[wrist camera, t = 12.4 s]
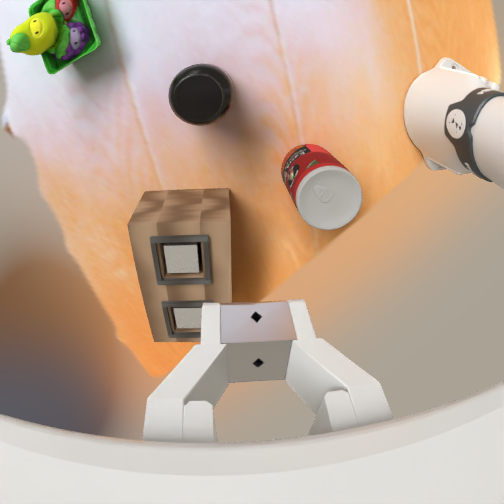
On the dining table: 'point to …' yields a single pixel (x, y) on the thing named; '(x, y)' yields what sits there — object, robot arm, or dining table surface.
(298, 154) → the canned food
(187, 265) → the peg
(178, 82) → the supplement bottle
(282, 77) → the dining table surface
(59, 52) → the fruit basket
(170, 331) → the socket block
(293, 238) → the dining table surface
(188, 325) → the peg
